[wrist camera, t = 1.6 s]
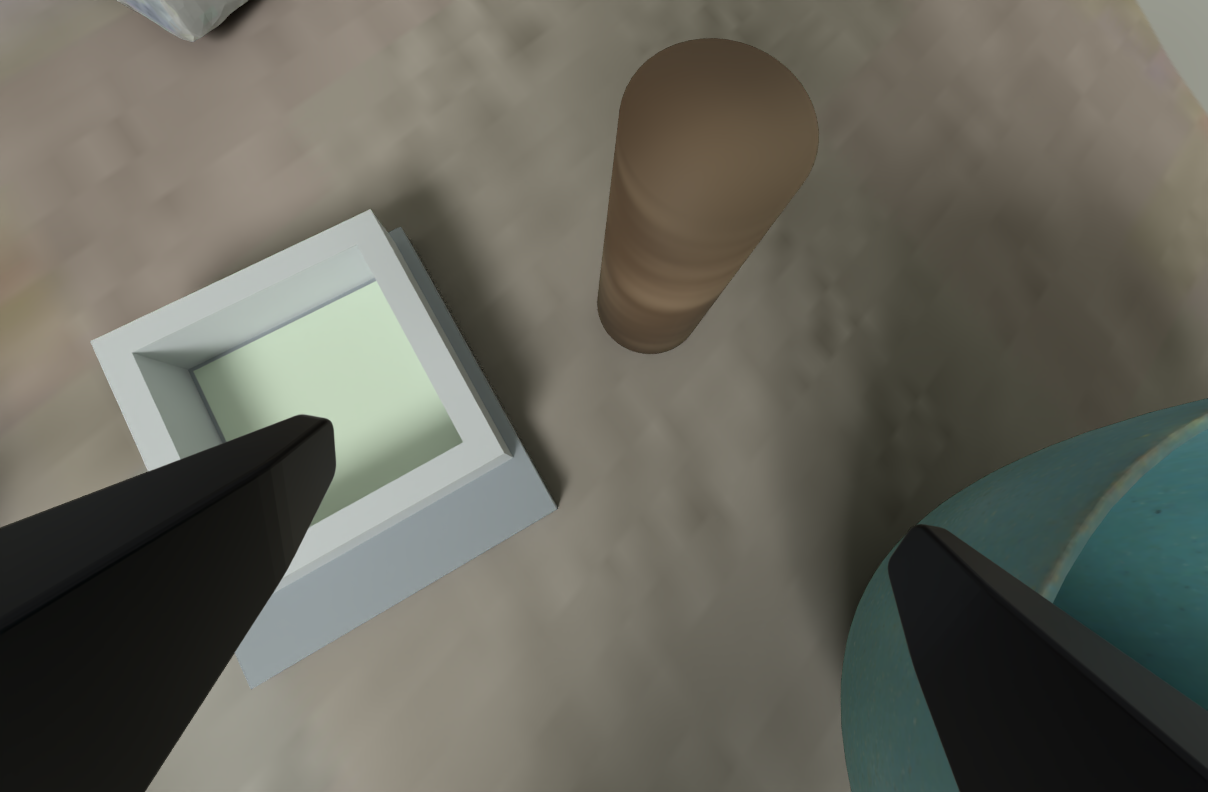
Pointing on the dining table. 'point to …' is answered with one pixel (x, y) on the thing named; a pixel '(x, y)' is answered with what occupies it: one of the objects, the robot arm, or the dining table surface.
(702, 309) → the walnut cylinder
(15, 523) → the robot arm
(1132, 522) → the teal bowl
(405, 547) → the white tray
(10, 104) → the dining table surface
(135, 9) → the light grey box
